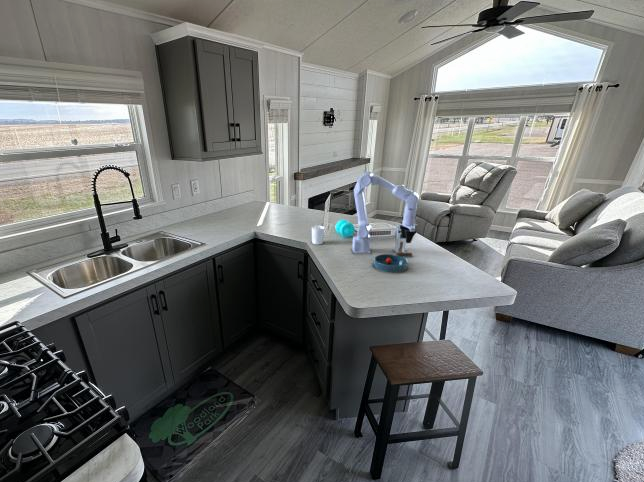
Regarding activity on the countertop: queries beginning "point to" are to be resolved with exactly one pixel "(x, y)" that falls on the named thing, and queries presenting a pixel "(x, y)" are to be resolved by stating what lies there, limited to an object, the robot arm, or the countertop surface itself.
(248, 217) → the countertop surface
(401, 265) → the bowl
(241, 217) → the countertop surface
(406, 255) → the paddle
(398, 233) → the beer glass
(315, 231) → the white cup
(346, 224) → the donuts
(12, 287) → the countertop surface
